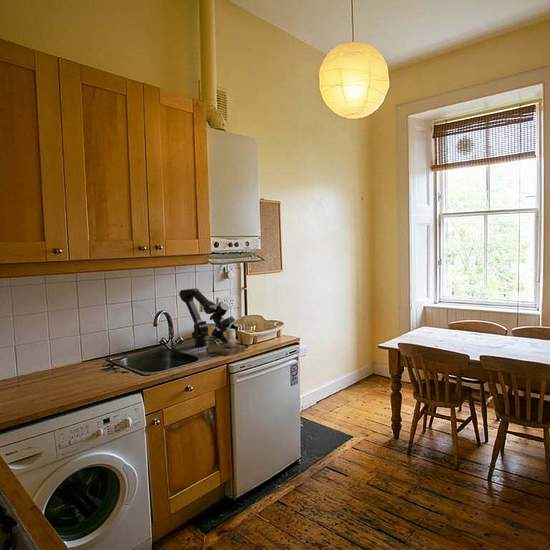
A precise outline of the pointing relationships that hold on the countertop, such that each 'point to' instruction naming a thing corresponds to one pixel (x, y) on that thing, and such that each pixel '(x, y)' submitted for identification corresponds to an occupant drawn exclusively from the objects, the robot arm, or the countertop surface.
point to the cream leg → (231, 338)
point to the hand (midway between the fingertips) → (232, 341)
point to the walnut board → (229, 349)
